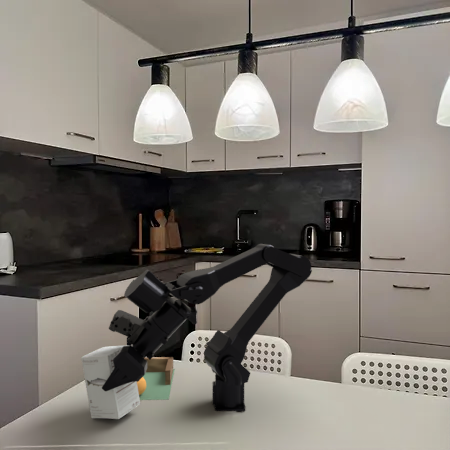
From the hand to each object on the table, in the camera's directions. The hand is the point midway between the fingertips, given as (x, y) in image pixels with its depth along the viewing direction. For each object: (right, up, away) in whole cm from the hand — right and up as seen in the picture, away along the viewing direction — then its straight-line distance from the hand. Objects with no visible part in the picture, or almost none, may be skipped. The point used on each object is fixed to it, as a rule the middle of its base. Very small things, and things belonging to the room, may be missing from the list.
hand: (109, 379), depth 87 cm
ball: (+3, -7, +10) cm, 13 cm away
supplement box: (+1, -7, 0) cm, 7 cm away
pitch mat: (+3, -7, +17) cm, 19 cm away
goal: (+3, -7, +20) cm, 22 cm away
